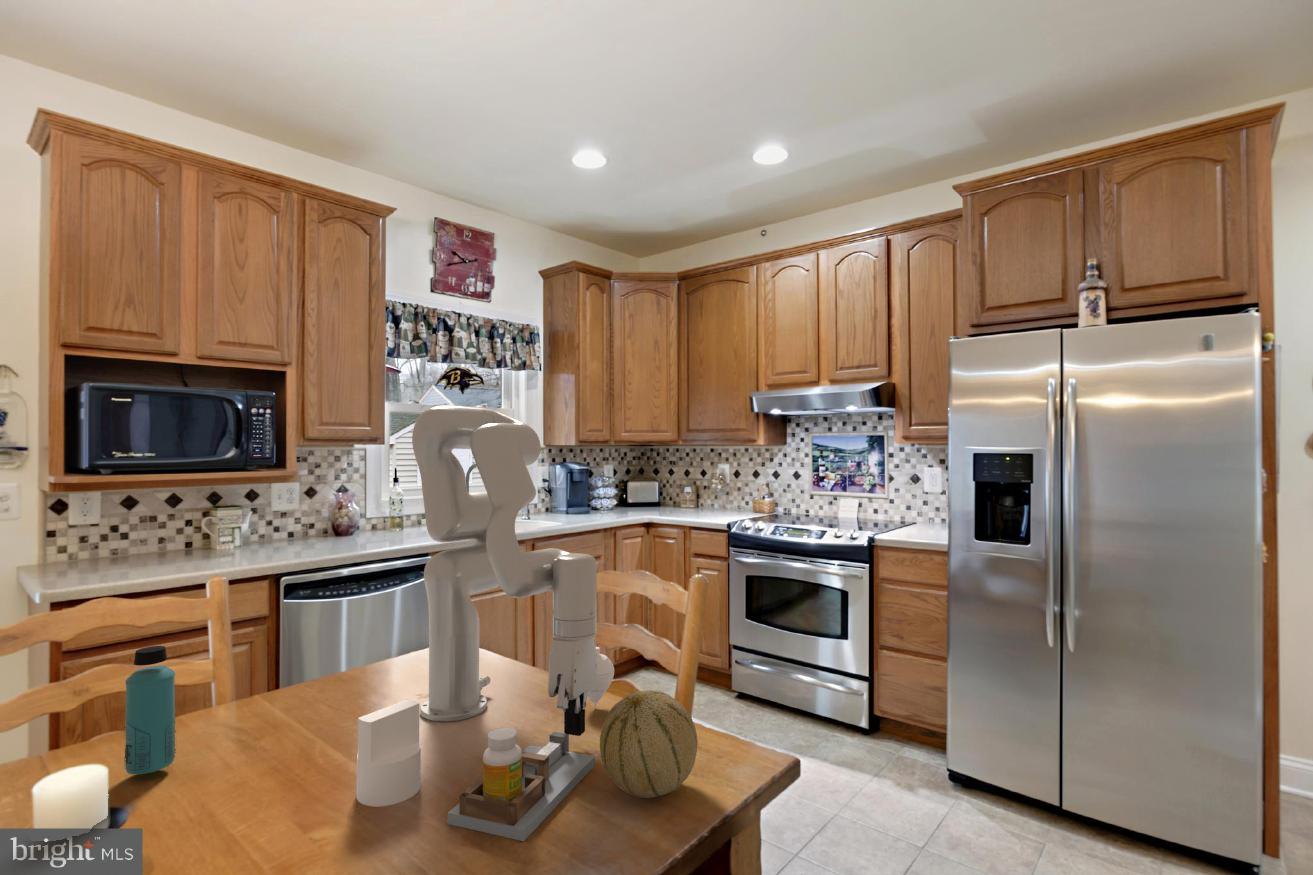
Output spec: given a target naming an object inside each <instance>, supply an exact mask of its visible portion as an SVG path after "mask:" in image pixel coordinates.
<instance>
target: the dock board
mask: <svg viewBox="0 0 1313 875" xmlns="http://www.w3.org/2000/svg"><path fill="white" fill-rule="evenodd" d="M544 747H545V746H538V745H532V744H530V745H529V746H527V747H526V748H525V749H523V750H522V791H523V790H524V789H525V778H523V765H524V764H525V763H532V764H537V765H538V776H542V777H545V795H544V796H543V797H542V798H541V799H540V800H539V801H538V802H537V803H536V804H535V805H534V806H533V807H532V808H531V809H530V810H529V811H528V812H527V813H526V814H525V815H524V816H523V817H522V818H521V819H520V820H519V821H518V822H517V823H516V824H515V825H514V826H510V825H505V824H501V823H496V822H492V821H487V820H483V819H478V818H474V817H469V816H465V815H460V814H459V803H458V804H456V805H455V806H453V808H451V809H450V810H449V811H448V812H447V822H446V823H447V825H451V826H455V827H459V828H465V829H469V830H473V831H477V832H482V833H486V834H489V835H490V834H491V835H494V836H499V837H502V838H506V839H510V840H511V839H512V840H516V841H521V842H525V841H526V839H527V838H528V837H529V836H531V834H532V833H533V832H534V831H535V830H536V829H537V828H538V827H539V826H540V825H541V823H543V822H544V821H545V819H546V818H548V817H549V815H550V814H551V813H552V812H553V811H554V810H555V809H556V808H557V806H558V805H559V804H560V803H561V802H562V801H563V800H564V799H565V798H566V797H567V796H568V795H569V794H570V793H571V792H572V790H574V788H575V787H577V785H578V784H579V783H580V782H581V781H582V780H583V779H584V778H585V777H586V775H588V773H589V772H591V770H592V769H593V768H594V767H595V766H596V756H595V755H591V754H584V753H578V752H573V751H569V752H567V753H566V754H565V755H562V756H561V757H560V758H558V759H557V760H556V761H555V762H554V763H553V764H552V765H551V766H550V767H549V756H546V755H541V754H537V753H538V752H539V751H540V750H541V749H542V748H544Z"/></svg>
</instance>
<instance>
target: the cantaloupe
mask: <svg viewBox="0 0 1313 875" xmlns="http://www.w3.org/2000/svg"><path fill="white" fill-rule="evenodd" d="M698 743H699V742H698V734H697V730H696V725H695V722H694V721H693V719H692V716H691V715H690V713H689V711H688V710H687V709H686V708H685V706H684V705H683V704H682V703H681V702H680V701H678V700H677V699H676V698H674V697H672V696H671V695H669V694H668V693H665V692H664V691H661V690H653V689H652V690H641V691H639V690H638V691H636V692H634V693H631V694H629V695H627V696H625V697H624V698H622V699H621V700H619V701H618V702H616V703H615V704H614V705H613V706H612V707H611V708H610V710H608V713H607V715H606V717H605V719H604V722H603V725H602V727H601V730H600V736H599V752H600V759H601V762H602V765H603V768H604V769H605V772H606V773H607V775H608V777H610V779H611V781H612V782H613V783H614V784H615V785H616V786H617V787H618V788H620V790H622V791H623V792H624V793H626V794H628V795H630V796H634V797H639V798H644V799H651V798H656V797H659V796H660V797H661V796H664V795H668V794H670V793H671V792H672V791H674V790H675V789H677V788H678V787H680V786H681V785H682V784H683V783H684V782H685V781H686V780H687V779H688V777H689V776H690V775H691V773H692V769H693V768H694V766H695V763H696V758H697V753H698V746H699V744H698Z"/></svg>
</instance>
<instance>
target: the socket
mask: <svg viewBox="0 0 1313 875" xmlns="http://www.w3.org/2000/svg"><path fill="white" fill-rule="evenodd" d="M544 795H545V777H542V776H537V775H532V774H528V775H527V776H526V777H525V789H524V790H523V791H522V792H521V793H520V794H519V795H518V796H517V797H516V798H515V799H514V800H513V801H512V802H508V801H504V800H499V799H494V798H489V797H484V796H483V776H482V777H481V778H479V780H477V781H476V782H475V783H474V784H473V785H471V786H470V787H469V788H467V789H466V790H465V791H464V792H462V793H461V794H460V795H459V796H458V797H459V800H458V801H459V802H458V804H459V814H460V815H465V816H469V817H474V818H478V819H483V820H487V821H492V822H496V823H501V824H505V825H510V826H514V825H515V824H516V823H517V822H518V821H519V820H520V819H521V818H522V817H523V816H524V815H525V814H526V813H527V812H528V811H529V810H530V809H531V808H532V807H533V806H534V805H535V804H536V803H537V802H538V801H539V800H540V799H541V798H542V797H543V796H544Z"/></svg>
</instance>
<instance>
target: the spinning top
mask: <svg viewBox="0 0 1313 875" xmlns="http://www.w3.org/2000/svg"><path fill="white" fill-rule="evenodd" d="M600 651H601V647H599V646H596V658H597V673H596V681H595V683H594V684H593V685H592V686H591V688H590V689H589V691H588V692H587V698H588V699H589V701H590V702H591V703H592V704H593V708H594V709H597V704H598V703H599V701H601V699H603V697H604V695H605V694H606V692H607V691H608V689H609V687H610V686H611V684H612V681H613V679H614V676H615V667H614V665H613V662H612V660H610V659H609V657H608V656H607V655H605V654H602V653H600Z"/></svg>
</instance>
